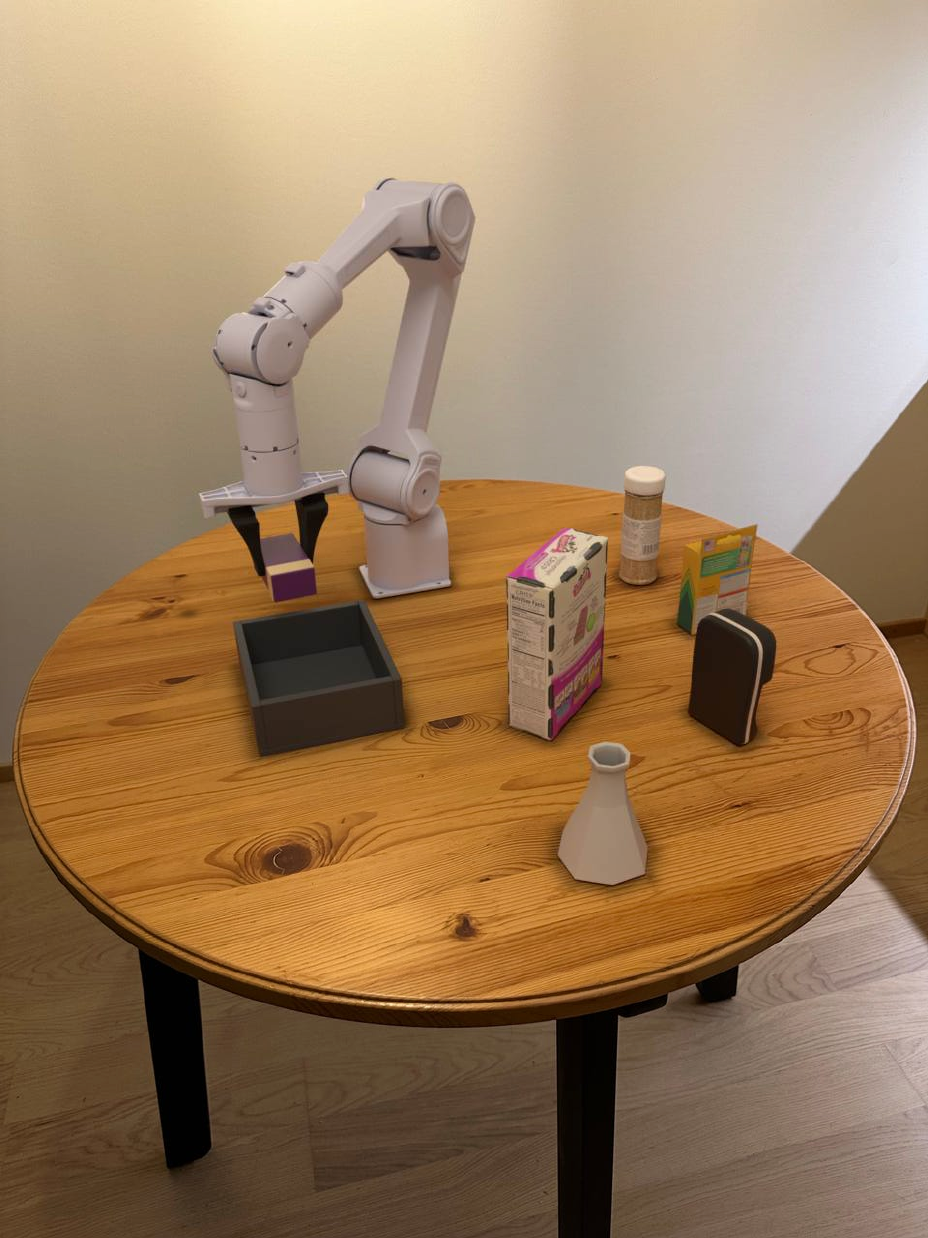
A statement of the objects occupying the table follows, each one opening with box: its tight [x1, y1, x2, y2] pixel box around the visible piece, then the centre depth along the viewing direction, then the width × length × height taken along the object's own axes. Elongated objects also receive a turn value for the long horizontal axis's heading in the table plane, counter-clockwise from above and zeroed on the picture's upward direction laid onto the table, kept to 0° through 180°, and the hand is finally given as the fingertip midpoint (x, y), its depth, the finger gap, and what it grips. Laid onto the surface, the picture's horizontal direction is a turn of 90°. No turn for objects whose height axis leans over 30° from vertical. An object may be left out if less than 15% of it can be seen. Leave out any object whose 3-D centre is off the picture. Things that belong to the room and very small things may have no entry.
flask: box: [557, 741, 649, 886], centre depth 76 cm, size 7×7×10 cm
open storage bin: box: [232, 599, 405, 758], centre depth 97 cm, size 14×16×6 cm
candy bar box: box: [505, 527, 609, 742], centre depth 92 cm, size 11×5×16 cm, turn 148°
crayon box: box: [676, 523, 758, 637], centre depth 106 cm, size 7×3×12 cm, turn 115°
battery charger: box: [687, 608, 777, 746], centre depth 90 cm, size 7×4×11 cm, turn 35°
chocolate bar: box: [260, 532, 318, 603], centre depth 103 cm, size 4×9×3 cm, turn 22°
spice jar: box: [618, 465, 666, 586], centre depth 115 cm, size 5×5×14 cm
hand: (284, 567), depth 103 cm, fingers closed on chocolate bar, 4 cm apart
